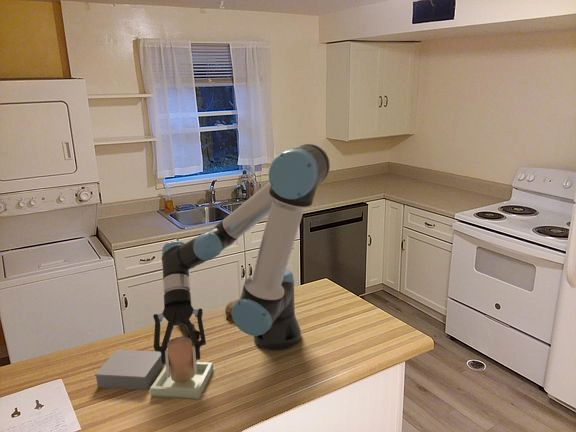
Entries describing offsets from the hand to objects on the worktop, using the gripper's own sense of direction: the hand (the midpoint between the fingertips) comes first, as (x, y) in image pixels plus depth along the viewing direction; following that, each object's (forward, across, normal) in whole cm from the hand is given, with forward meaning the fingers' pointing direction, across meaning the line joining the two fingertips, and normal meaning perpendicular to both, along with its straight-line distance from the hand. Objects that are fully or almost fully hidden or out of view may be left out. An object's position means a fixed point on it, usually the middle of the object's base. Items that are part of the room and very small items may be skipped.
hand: (181, 374), depth 122 cm
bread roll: (-24, -20, -32) cm, 45 cm away
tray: (+1, 0, -6) cm, 6 cm away
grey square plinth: (-4, +14, -11) cm, 19 cm away
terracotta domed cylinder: (-1, 0, -4) cm, 5 cm away
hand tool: (-20, 0, -28) cm, 35 cm away
